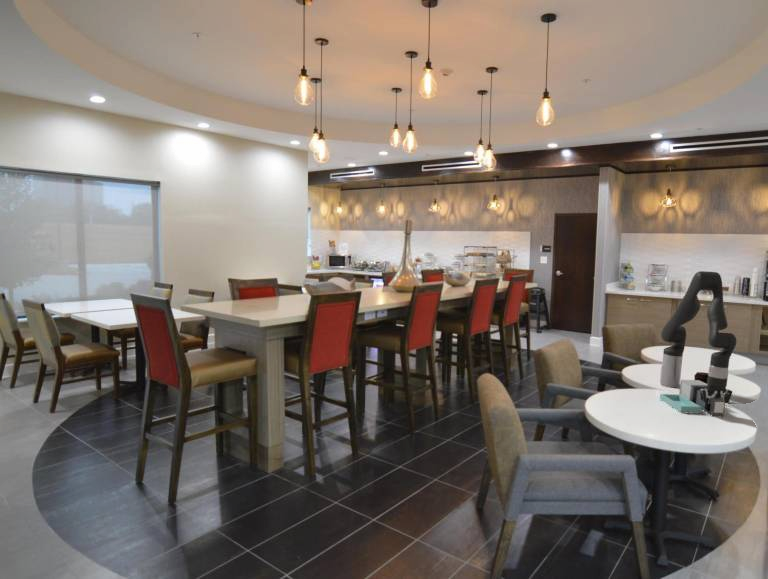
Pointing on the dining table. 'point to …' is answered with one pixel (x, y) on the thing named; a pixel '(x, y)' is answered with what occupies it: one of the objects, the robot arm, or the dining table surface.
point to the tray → (680, 403)
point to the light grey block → (691, 388)
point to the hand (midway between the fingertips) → (713, 410)
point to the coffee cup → (701, 376)
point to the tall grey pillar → (712, 405)
